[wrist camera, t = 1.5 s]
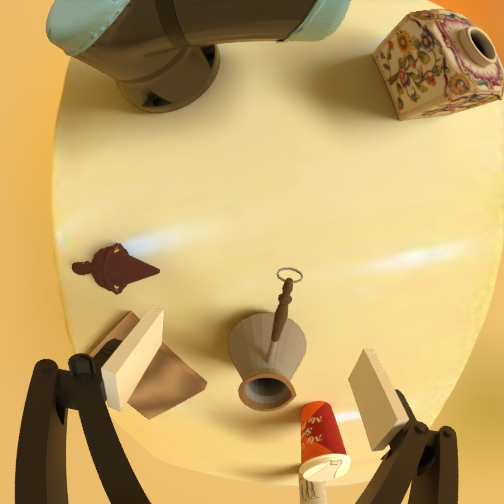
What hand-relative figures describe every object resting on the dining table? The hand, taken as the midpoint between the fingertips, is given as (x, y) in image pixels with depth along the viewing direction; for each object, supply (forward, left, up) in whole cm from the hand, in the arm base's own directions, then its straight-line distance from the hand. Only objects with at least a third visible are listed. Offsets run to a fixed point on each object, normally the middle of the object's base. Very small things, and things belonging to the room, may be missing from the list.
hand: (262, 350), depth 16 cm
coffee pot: (+7, -5, -22) cm, 24 cm away
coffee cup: (+30, -13, -22) cm, 39 cm away
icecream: (-13, -17, -22) cm, 31 cm away
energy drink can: (+49, -27, -22) cm, 60 cm away
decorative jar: (-5, +35, -22) cm, 42 cm away
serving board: (+2, -32, -22) cm, 39 cm away
